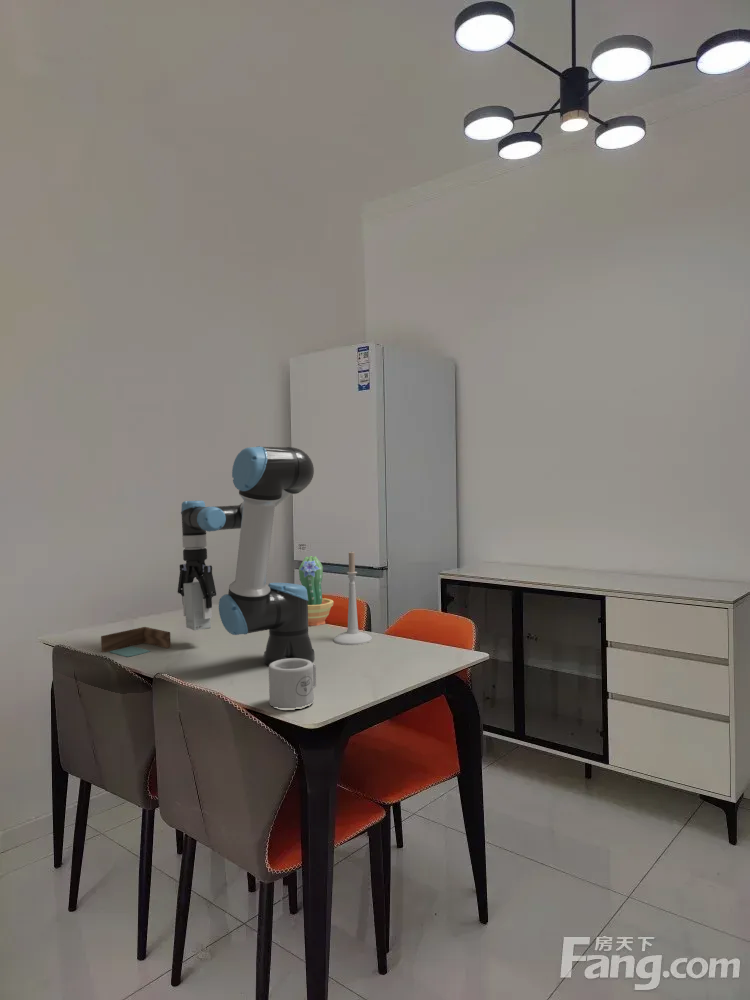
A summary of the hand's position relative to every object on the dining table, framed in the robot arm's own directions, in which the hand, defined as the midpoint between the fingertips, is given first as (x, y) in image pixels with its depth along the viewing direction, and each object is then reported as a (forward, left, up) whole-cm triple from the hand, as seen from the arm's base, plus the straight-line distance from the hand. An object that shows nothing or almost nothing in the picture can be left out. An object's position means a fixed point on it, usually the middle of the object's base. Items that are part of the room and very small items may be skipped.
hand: (197, 616), depth 225 cm
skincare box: (0, 0, -4) cm, 4 cm away
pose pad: (+13, +17, -10) cm, 23 cm away
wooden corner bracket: (+14, +14, -10) cm, 22 cm away
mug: (-64, +21, -10) cm, 68 cm away
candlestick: (-36, -35, -10) cm, 52 cm away
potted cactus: (-7, -47, -10) cm, 49 cm away
